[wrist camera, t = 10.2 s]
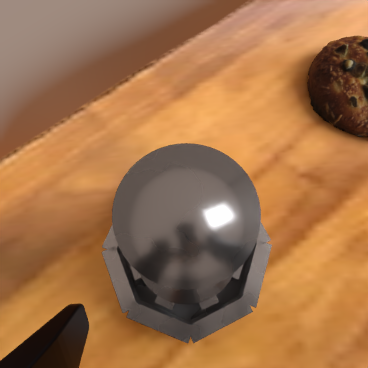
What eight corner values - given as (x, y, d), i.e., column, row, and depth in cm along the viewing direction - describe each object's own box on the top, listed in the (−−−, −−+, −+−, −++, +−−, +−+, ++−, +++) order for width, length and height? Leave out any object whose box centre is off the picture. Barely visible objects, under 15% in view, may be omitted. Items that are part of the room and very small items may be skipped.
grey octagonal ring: (147, 360, 18) (141, 372, 15) (95, 214, 21) (84, 207, 19) (287, 286, 19) (300, 288, 17) (217, 161, 22) (221, 149, 20)
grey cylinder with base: (156, 326, 18) (85, 452, 5) (120, 222, 20) (14, 141, 8) (257, 279, 19) (397, 293, 6) (211, 185, 21) (248, 60, 9)
